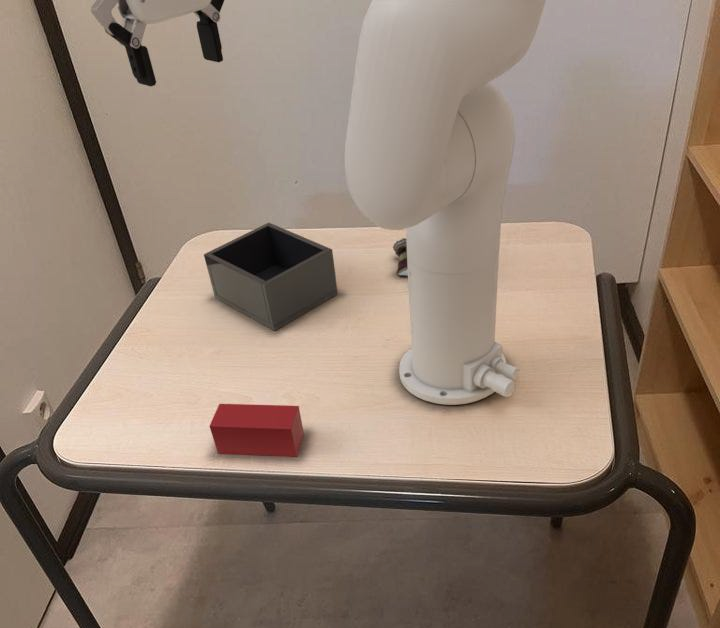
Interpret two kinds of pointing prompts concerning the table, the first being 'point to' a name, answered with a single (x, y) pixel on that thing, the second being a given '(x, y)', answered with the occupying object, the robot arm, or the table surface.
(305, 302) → the grey storage bin
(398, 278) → the table surface
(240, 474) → the table surface
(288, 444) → the red rectangular brick
